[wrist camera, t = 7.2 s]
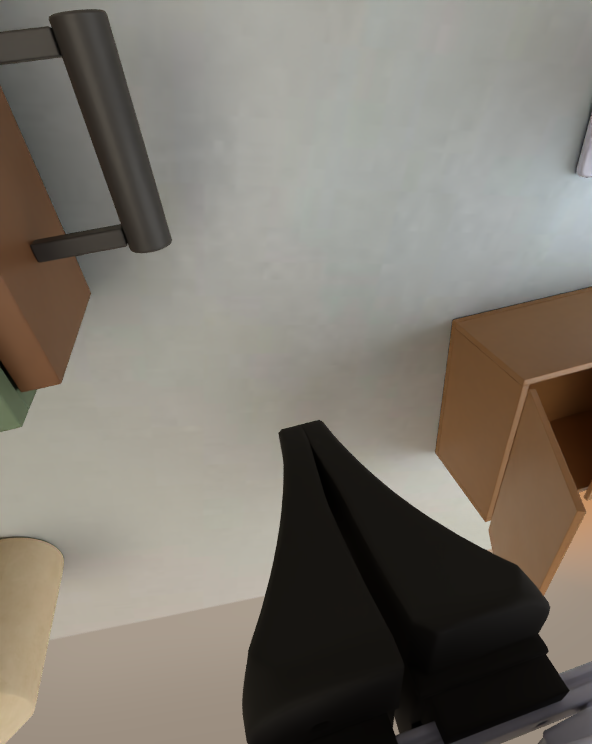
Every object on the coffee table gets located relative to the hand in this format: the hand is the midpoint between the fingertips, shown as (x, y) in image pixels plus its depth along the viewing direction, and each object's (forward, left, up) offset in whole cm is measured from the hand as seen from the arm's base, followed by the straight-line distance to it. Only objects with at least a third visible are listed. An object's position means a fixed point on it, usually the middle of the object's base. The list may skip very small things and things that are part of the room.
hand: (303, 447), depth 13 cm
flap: (-11, +10, 0) cm, 14 cm away
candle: (+18, +15, -11) cm, 26 cm away
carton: (-19, +10, -10) cm, 23 cm away
